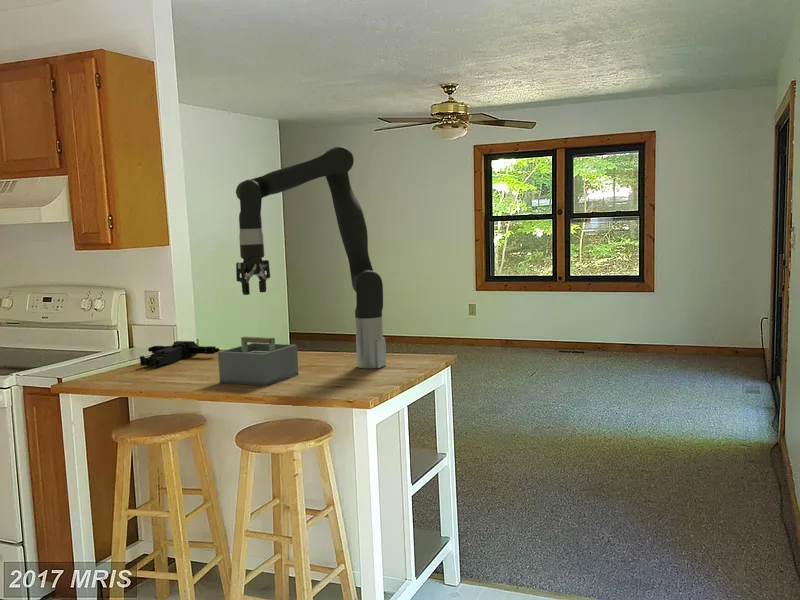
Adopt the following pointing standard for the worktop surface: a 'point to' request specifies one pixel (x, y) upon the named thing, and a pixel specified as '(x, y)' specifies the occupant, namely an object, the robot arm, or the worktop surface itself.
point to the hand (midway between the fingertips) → (254, 293)
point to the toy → (175, 353)
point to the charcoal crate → (258, 364)
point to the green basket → (257, 340)
